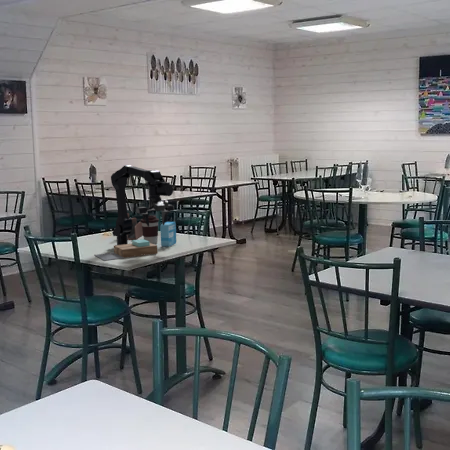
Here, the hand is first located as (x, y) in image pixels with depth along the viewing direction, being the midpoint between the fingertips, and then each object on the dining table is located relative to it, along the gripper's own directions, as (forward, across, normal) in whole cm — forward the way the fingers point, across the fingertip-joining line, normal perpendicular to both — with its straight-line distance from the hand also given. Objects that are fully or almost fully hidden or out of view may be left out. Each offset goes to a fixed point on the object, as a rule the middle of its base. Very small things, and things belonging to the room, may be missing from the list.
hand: (155, 225), depth 308 cm
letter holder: (+14, +4, +48) cm, 50 cm away
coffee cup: (+13, +5, +22) cm, 26 cm away
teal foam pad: (+9, -8, 0) cm, 12 cm away
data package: (+13, +11, +11) cm, 21 cm away
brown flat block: (+13, -12, 0) cm, 17 cm away
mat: (+13, -26, 0) cm, 29 cm away
